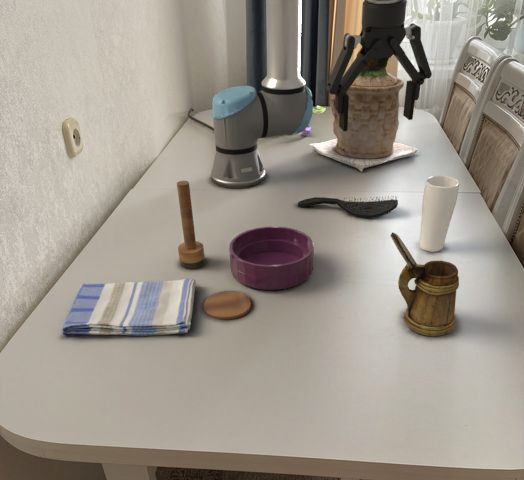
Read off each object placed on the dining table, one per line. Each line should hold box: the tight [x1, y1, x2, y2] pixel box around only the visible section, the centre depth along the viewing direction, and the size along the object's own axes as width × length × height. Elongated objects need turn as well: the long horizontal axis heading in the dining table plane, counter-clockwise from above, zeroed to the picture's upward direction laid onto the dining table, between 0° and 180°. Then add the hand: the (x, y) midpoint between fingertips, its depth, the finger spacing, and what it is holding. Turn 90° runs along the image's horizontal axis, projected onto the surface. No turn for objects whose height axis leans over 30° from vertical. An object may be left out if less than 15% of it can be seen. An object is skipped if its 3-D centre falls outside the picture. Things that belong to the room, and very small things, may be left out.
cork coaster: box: [203, 290, 252, 321], centre depth 105 cm, size 9×9×1 cm
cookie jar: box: [309, 58, 418, 172], centre depth 160 cm, size 25×25×32 cm
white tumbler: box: [418, 175, 460, 253], centre depth 117 cm, size 7×7×15 cm
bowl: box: [228, 225, 315, 291], centre depth 114 cm, size 17×17×6 cm
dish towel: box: [62, 277, 197, 337], centre depth 104 cm, size 17×24×3 cm
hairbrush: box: [297, 195, 399, 219], centre depth 137 cm, size 8×4×25 cm
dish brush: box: [176, 180, 205, 270], centre depth 113 cm, size 5×5×18 cm
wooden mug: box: [390, 232, 460, 337], centre depth 94 cm, size 9×14×18 cm, turn 88°
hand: (375, 123), depth 108 cm, fingers open, 13 cm apart
